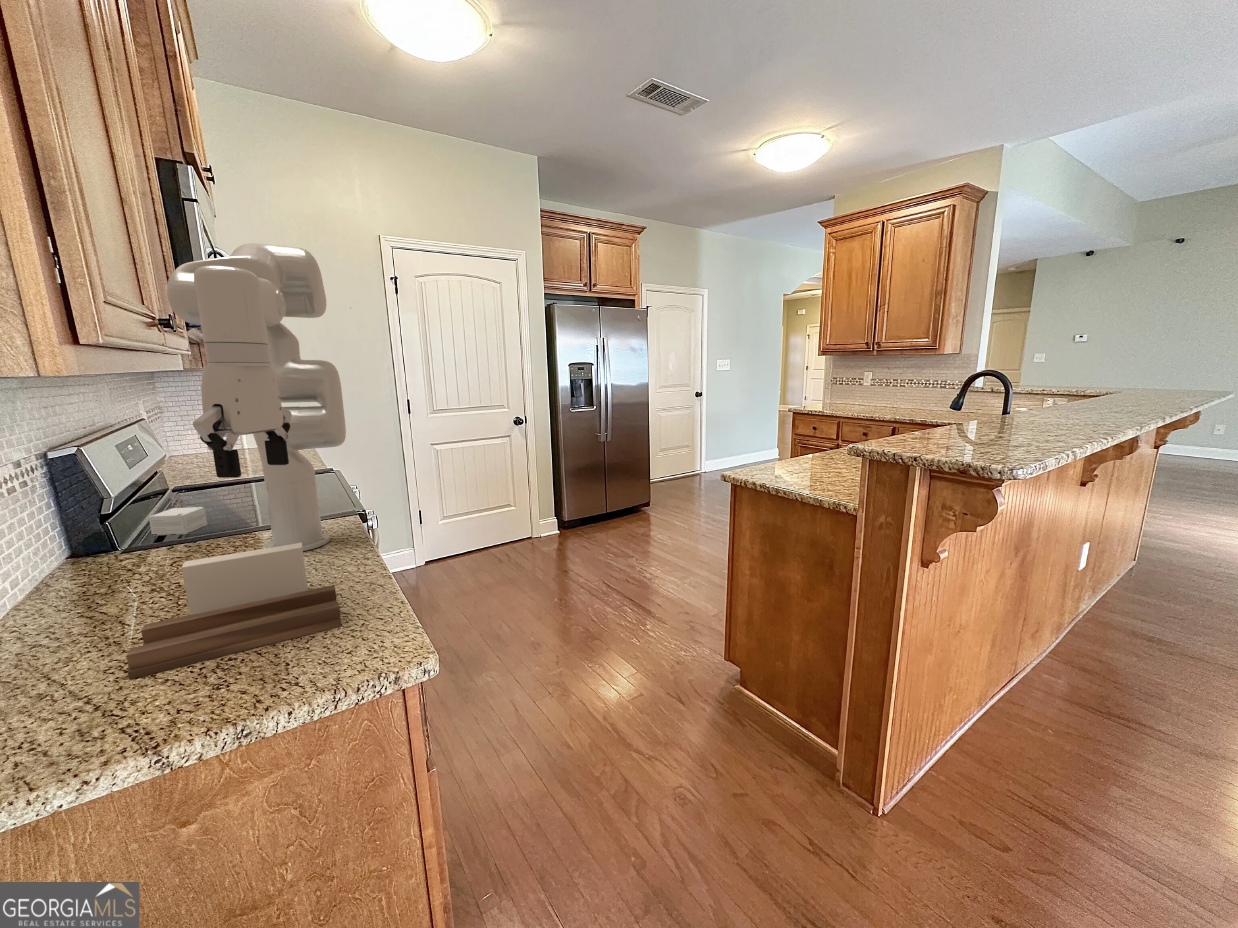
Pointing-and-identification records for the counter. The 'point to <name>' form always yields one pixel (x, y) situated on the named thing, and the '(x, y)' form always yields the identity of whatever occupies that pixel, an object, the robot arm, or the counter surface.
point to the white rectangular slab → (244, 577)
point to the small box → (178, 521)
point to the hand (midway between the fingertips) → (255, 470)
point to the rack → (232, 630)
